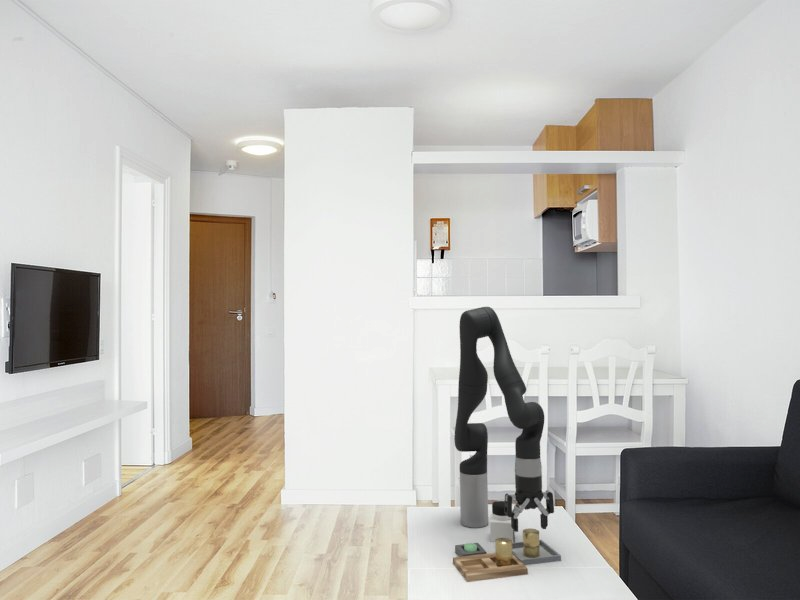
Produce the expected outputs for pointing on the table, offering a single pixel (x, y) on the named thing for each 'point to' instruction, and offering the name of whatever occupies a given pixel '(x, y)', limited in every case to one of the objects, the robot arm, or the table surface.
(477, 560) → the tray
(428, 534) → the table surface
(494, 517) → the medicine bottle
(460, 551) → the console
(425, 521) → the table surface
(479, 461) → the robot arm
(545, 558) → the tray
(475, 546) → the button
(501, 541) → the cylinder
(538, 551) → the cylinder
